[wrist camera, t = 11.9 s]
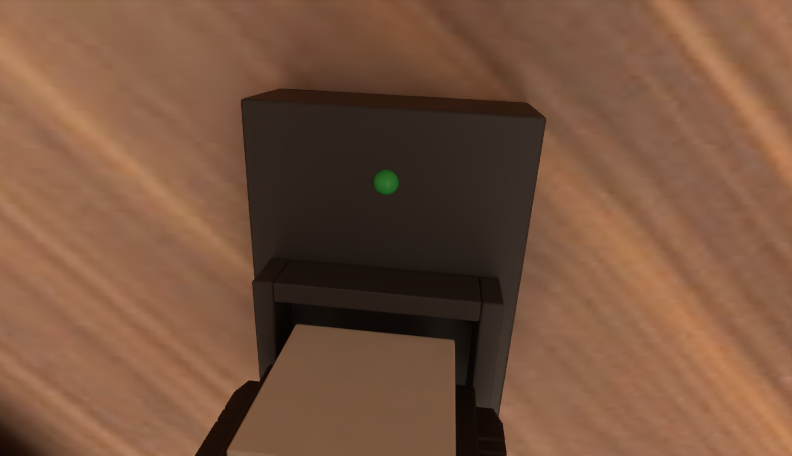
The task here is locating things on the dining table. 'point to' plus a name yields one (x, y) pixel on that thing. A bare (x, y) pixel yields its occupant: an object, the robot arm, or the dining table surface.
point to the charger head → (354, 397)
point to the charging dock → (391, 219)
